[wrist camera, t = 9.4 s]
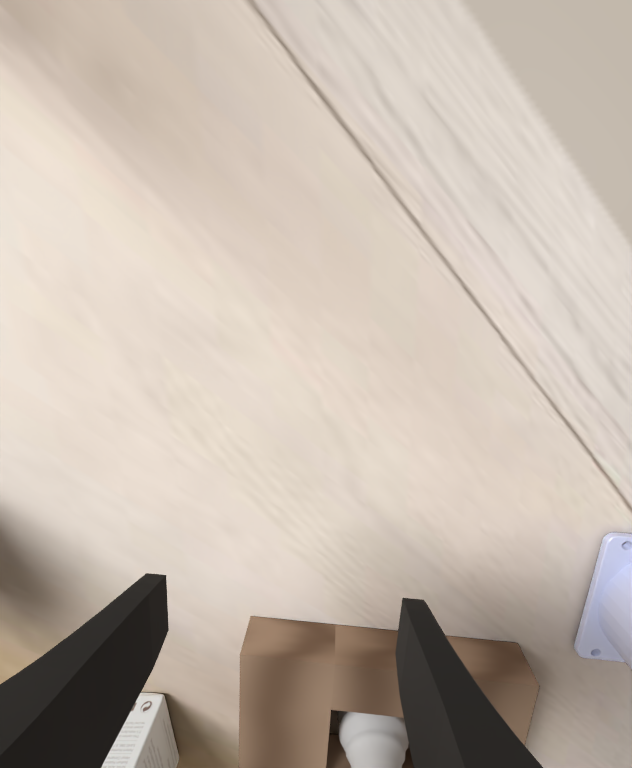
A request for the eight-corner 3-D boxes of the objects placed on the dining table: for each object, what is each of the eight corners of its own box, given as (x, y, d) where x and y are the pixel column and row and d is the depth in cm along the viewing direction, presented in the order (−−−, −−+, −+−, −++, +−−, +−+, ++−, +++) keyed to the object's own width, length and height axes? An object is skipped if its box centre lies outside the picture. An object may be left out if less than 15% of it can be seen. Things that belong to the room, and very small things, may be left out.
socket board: (517, 643, 22) (539, 686, 20) (484, 788, 25) (500, 841, 22) (250, 616, 23) (240, 654, 20) (248, 759, 26) (238, 808, 23)
